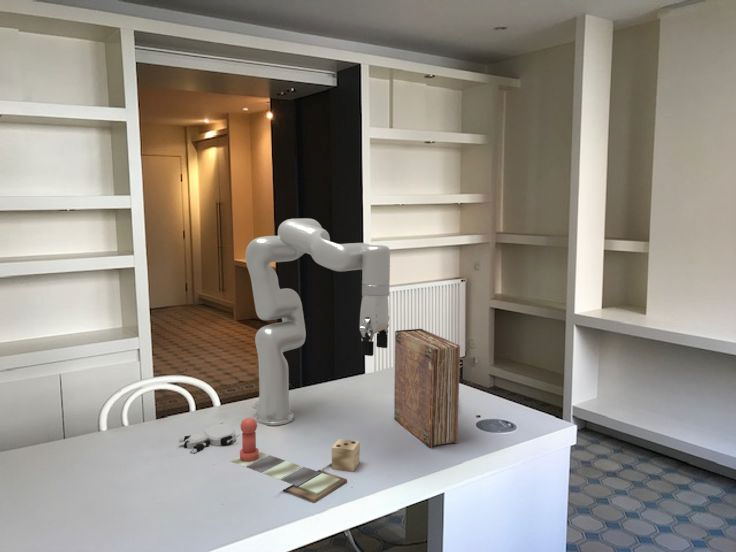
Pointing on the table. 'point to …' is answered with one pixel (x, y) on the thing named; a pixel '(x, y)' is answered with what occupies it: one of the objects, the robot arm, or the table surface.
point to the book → (427, 386)
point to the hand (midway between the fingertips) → (374, 351)
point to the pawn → (249, 441)
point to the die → (345, 455)
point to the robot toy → (210, 437)
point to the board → (296, 477)
